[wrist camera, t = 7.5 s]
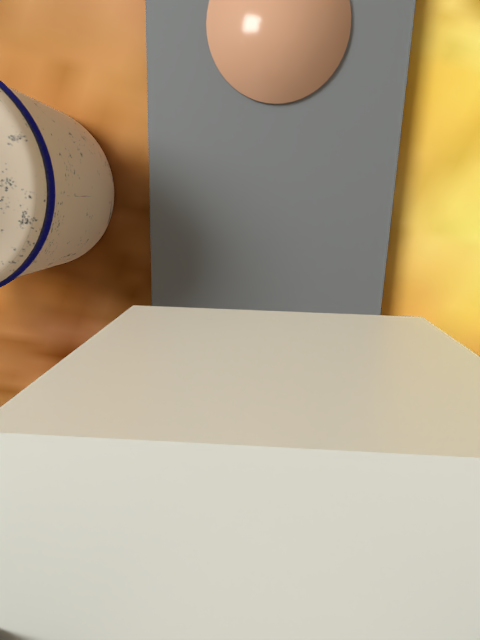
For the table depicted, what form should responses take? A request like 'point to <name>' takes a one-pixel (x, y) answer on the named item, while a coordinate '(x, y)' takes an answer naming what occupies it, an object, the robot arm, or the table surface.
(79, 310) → the table surface
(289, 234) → the board
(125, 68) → the table surface
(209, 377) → the block
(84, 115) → the table surface
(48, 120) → the teacup with lid
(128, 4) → the table surface
